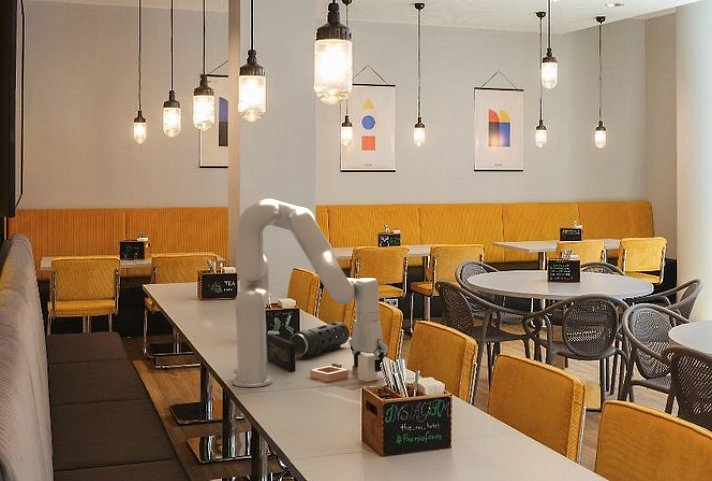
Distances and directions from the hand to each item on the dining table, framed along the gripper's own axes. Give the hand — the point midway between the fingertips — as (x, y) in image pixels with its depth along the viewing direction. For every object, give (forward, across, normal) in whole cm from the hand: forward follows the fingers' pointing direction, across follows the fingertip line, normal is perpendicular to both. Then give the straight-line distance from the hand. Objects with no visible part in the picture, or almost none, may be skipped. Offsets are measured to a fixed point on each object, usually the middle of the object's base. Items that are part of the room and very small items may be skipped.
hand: (368, 368), depth 289 cm
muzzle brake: (+5, -46, +19) cm, 50 cm away
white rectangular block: (+3, 0, 0) cm, 3 cm away
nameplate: (+4, -39, -5) cm, 40 cm away
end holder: (+4, -11, -7) cm, 14 cm away
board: (+4, -5, -4) cm, 8 cm away
